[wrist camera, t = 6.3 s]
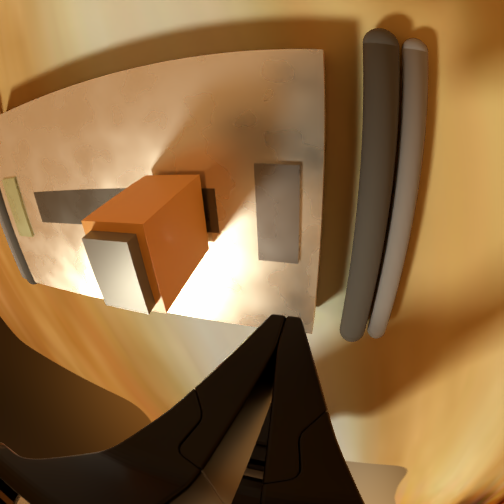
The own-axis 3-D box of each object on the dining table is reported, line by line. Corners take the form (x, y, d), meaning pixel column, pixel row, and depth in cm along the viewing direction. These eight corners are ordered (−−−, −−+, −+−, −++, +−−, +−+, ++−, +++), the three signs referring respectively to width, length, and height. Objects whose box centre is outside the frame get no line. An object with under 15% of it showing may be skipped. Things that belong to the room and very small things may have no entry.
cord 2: (382, 331, 19) (383, 349, 18) (338, 328, 20) (337, 345, 19) (423, 38, 10) (433, 34, 9) (360, 29, 11) (363, 24, 10)
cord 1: (45, 279, 26) (36, 288, 25) (29, 275, 27) (20, 284, 26) (-5, 104, 17) (-20, 109, 16) (-19, 111, 18) (-33, 117, 17)
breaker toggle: (209, 248, 16) (160, 323, 12) (159, 244, 17) (102, 310, 12) (199, 174, 14) (133, 232, 10) (145, 175, 15) (71, 228, 10)
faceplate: (315, 311, 20) (311, 335, 18) (48, 270, 25) (34, 283, 24) (324, 52, 12) (322, 49, 10) (3, 115, 18) (-17, 122, 16)
